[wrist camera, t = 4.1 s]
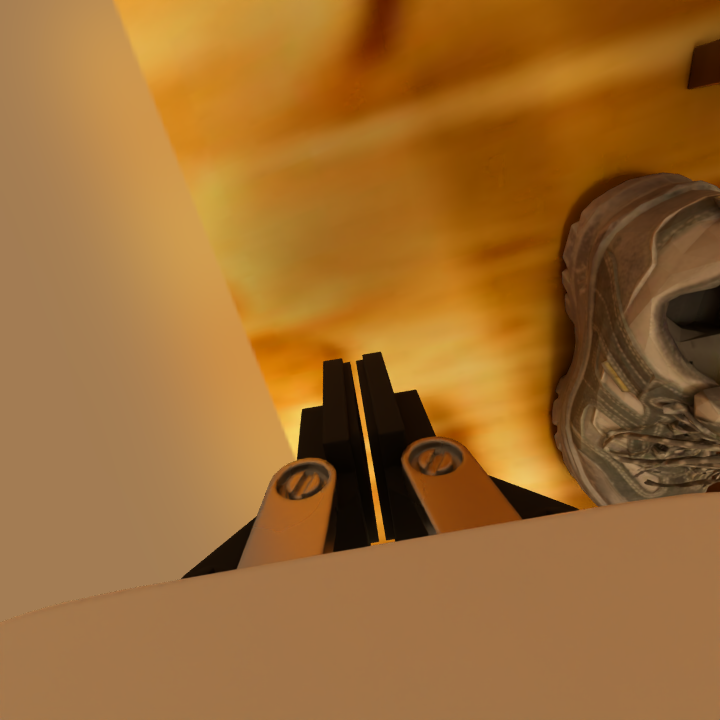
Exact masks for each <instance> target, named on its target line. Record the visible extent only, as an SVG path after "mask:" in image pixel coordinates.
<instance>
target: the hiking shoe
mask: <svg viewBox="0 0 720 720" xmlns="http://www.w3.org/2000/svg"><path fill="white" fill-rule="evenodd" d="M563 259H564V261H565V263H566V266H567V268H566V269H565V270H564V271H563V272H562V283H563V285H564V287H565V289H566V291H567V293H566V294H565V309H566V313H567V314H568V316H569V318H570V319H571V321H572V322H573V323H574V325H575V328H574V332H575V339H576V345H575V350H574V355H573V360H572V363H571V366H570V368H569V370H568V372H567V374H566V375H564V376H562V377H561V378H560V381H559V383H558V385H557V388H556V390H555V392H556V393H557V394H558V395H559V398H557V399H556V400H555V401H554V403H553V411H552V422H553V424H555V425H556V426H557V431H558V432H557V433H556V434H555V435H554V437H555V441H556V445H557V448H558V449H559V450H560V451H561V452H562V454H563V461H564V463H565V465H566V467H567V469H568V470H569V472H570V474H571V475H572V476H573V477H574V478H575V479H576V480H577V482H578V484H579V485H580V487H581V488H582V490H583V491H584V492H585V493H586V494H587V495H588V496H589V497H590V498H591V500H592V501H593V502H594V503H595V504H596V505H597V506H599V507H601V506H607V505H613V504H619V503H625V502H632V501H640V500H647V499H654V498H662V497H669V496H677V495H684V494H693V493H706V490H707V488H708V487H709V486H710V485H712V484H714V483H716V482H720V478H719V477H720V454H716V451H720V445H719V444H720V190H719V188H718V187H717V186H715V185H712V184H709V183H707V182H704V181H692V180H691V179H689V178H687V177H684V176H682V175H679V174H671V173H658V174H652V175H648V176H643V177H638V178H634V179H631V180H627V181H625V182H623V183H621V184H619V185H618V186H616V187H614V188H612V189H610V190H608V191H607V192H605V193H604V194H602V195H601V196H599V197H597V198H596V199H594V200H593V201H592V202H591V203H590V204H589V205H588V206H587V207H586V208H585V209H584V210H583V211H582V213H581V217H580V220H579V221H577V222H576V223H574V224H572V225H571V229H570V232H569V236H568V239H567V243H566V246H565V250H564V253H563ZM714 470H716V471H715V472H713V471H714ZM713 475H714V478H713V479H711V478H712V476H713Z"/></svg>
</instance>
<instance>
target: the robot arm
mask: <svg viewBox="0 0 720 720" xmlns="http://www.w3.org/2000/svg"><path fill="white" fill-rule="evenodd" d="M362 356H363V360H358V361H356V364H357V370H358V376H359V383H360V389H361V395H362V401H363V407H364V413H365V419H366V425H367V431H368V437H369V443H370V449H371V455H372V461H373V466H374V472H375V478H376V484H377V490H378V496H379V501H380V507H381V513H382V519H383V525H384V530H385V536H386V540H391V539H395V542H391V543H385V544H379V545H373V546H371V543H374V542H379V538H378V531H377V524H376V517H375V511H374V504H373V497H372V490H371V483H370V476H369V470H368V463H367V456H366V449H365V443H364V437H363V432H362V426H361V420H360V415H359V409H358V404H357V398H356V392H355V387H354V381H353V375H352V370H351V364H350V362H347V363H343V361H342V358H341V359H335V360H329V361H323V406H317V407H312V408H306V409H302V414H301V424H300V435H299V445H298V455H297V460H296V461H294V462H291V463H289V464H287V465H286V466H284V467H282V468H281V469H280V470H279V471H278V472H277V473H276V474H275V475H274V476H273V478H272V479H271V481H270V483H269V486H268V488H267V491H266V493H265V496H264V499H263V501H262V504H261V507H260V509H259V512H258V514H257V516H256V517H255V518H254V519H253V520H251V521H250V522H249V523H248V524H247V525H245V526H244V527H243V528H242V529H241V530H239V531H238V532H237V533H236V534H234V535H233V536H232V537H231V538H229V539H228V540H227V541H226V542H225V543H223V544H222V545H221V546H220V547H218V548H217V549H216V550H215V551H214V552H212V553H211V554H210V555H209V556H207V557H206V558H205V559H204V560H203V561H201V562H200V563H199V564H198V565H196V566H195V567H194V568H193V569H191V570H190V571H189V572H188V573H187V574H185V575H184V576H183V577H182V578H181V579H180V580H175V581H168V582H163V583H157V584H152V585H146V586H140V587H135V588H130V589H124V590H119V591H115V592H110V593H106V594H101V595H96V596H91V597H87V598H82V599H77V600H72V601H67V602H63V603H59V604H56V605H52V606H49V607H45V608H41V609H38V610H34V611H31V612H27V613H25V614H22V615H19V616H16V617H14V618H11V619H8V620H6V621H3V622H0V720H720V492H708V493H693V494H684V495H677V496H669V497H662V498H654V499H647V500H640V501H632V502H625V503H619V504H613V505H607V506H601V507H595V508H589V509H583V510H579V509H577V508H575V507H573V506H570V505H567V504H564V503H562V502H559V501H556V500H554V499H551V498H548V497H546V496H543V495H540V494H538V493H535V492H532V491H529V490H527V489H524V488H521V487H519V486H516V485H513V484H511V483H508V482H505V481H503V480H500V479H497V478H495V477H492V476H489V475H487V473H486V472H485V471H484V470H483V468H482V467H481V466H480V464H479V463H478V462H477V461H476V459H475V458H474V457H473V456H472V454H471V453H470V452H469V451H468V449H467V448H466V447H465V446H464V445H462V444H461V443H460V442H458V441H456V440H453V439H450V438H446V437H436V435H435V433H434V431H433V428H432V426H431V424H430V421H429V419H428V416H427V414H426V412H425V409H424V407H423V405H422V402H421V400H420V397H419V395H418V393H417V391H416V390H411V391H405V392H399V393H394V392H393V389H392V386H391V383H390V379H389V376H388V373H387V370H386V367H385V363H384V360H383V357H382V354H381V352H376V353H370V354H364V355H362Z"/></svg>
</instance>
